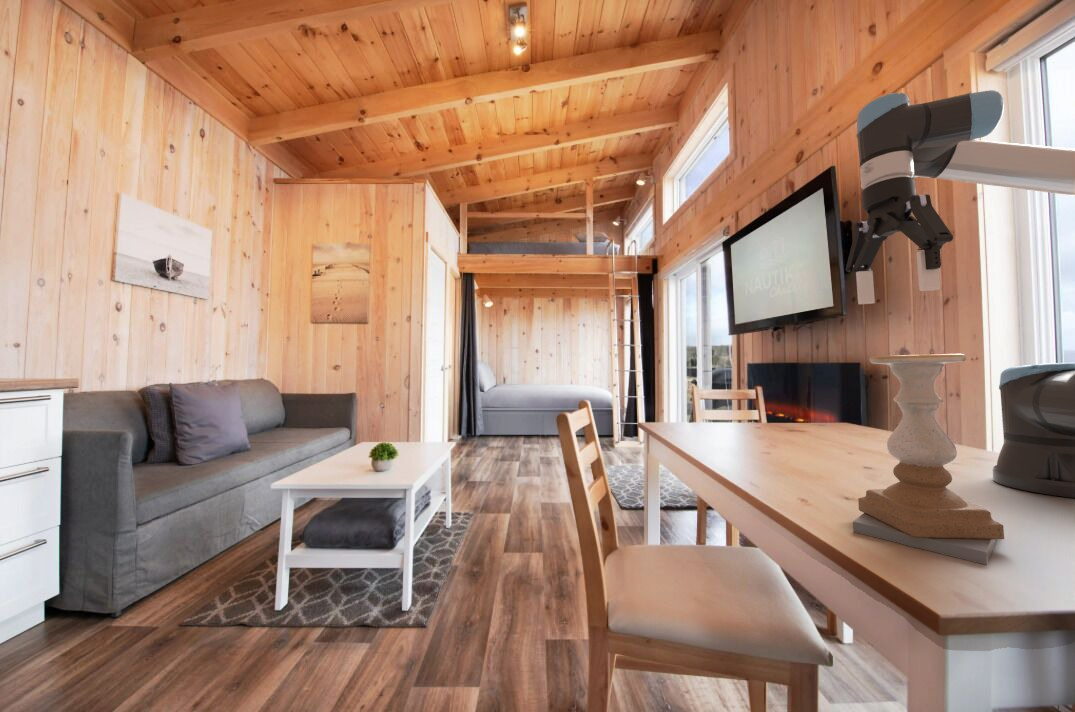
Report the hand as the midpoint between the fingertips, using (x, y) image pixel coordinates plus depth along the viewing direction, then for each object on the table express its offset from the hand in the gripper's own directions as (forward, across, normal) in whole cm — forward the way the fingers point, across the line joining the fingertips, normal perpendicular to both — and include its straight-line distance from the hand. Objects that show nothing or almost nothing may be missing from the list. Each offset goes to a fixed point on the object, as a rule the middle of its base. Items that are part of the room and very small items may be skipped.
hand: (895, 297), depth 74 cm
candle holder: (+35, +16, -12) cm, 40 cm away
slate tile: (+36, +16, -12) cm, 41 cm away
